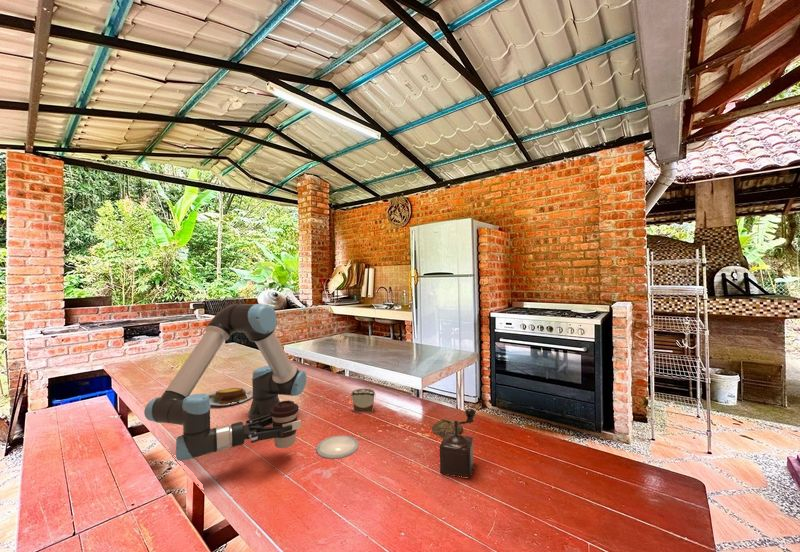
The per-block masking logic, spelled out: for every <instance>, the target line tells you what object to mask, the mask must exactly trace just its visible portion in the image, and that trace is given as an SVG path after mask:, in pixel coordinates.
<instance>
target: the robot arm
mask: <svg viewBox="0 0 800 552" xmlns="http://www.w3.org/2000/svg"><path fill="white" fill-rule="evenodd" d="M277 319H278V316H277V313H276V311H275V309H274V308H273V307H272V306H270V305H268V304H262V303H255V304H253V303H252V304H250V303H249V304H247V303H242V304H241V303H235V304H230V305H228V306H226V307H225V308H223V309H222V310H220V311H219V312H217V314H215V316H213V317H212V319H211V320H210V321H209V323H207V325H206V327H205V328H204V330H205V332H204V334H203V335H202V337H201V339H200V340H199V341H198V343H197V344H196V345H195V347H194V348H193V350H192V352H191V353H190V355H189V356H188V357H187V359H186V360H185V362H184V363H183V364H182V366H181V367H180V368H179V370H178V372H176V375H175V376H174V378H173V379H172V381H170V383H169V384H168V385H167V388H166V389H165V391H164V392H162V395H161V396H159V397H154V398H152V399H150V401H148V403H147V404H146V405H145V407H144V411H143V413H144V417H145V418H146V420H147V421H150V422H154V423H158V424H160V423H162V424H163V423H164V424H171V425H179V426H182V432H183V433H182V434H181V435H178V436H177V437H176V439H175V442H176V443H175V447H176V448H175V456H176V457H175V458H176V460H177V461H179V462H180V461H181V462H182V461H186V460H191V459H195V458H198V457H201V456H204V455H209V454H212V453H217V452H223V451H224V450H228V449H230V448H231V447H232V448H235V447H240V446H243V445H244V444H245V441H246V440H250V443H251V444H254V443H256V442H260V441H266V440H272V439H274V438H278V437H282V436H283V433H285V432H288V431H292V430H296V429H297V430H299V429H302V421H301V419H299V420H298V419H297V421H295V422H291V423H287V424H283V425H282V426H276V427H273V426H271V425H272V416H271V415H270V410H271V408H273V407H274V406H275V404H276V403H278V402H281V401H280V398H279V395H280V396H291V397H293V396H294V397H297V396H300V395H301V394H302V393H303V392H304V390H305V388H306V384H307V379H308V378H307V373H306V371H304V370H302V369H301V370H299V369H298V367H297V366H296V364H295V363H293V362H291V360H290V359H289V358H288V354H287V353H286V351H285V350H284V348H283V346H282V344H281V342H280V339H279V338H278V336H277V334H276V333H275V330H276V327H277V323H278V320H277ZM234 333H243V334H245V336H246V338H247V339H248V341H250V342H251V343H255V345H256V346H257V348H258V350H259V351H260V353H261V355H262V357H263V358H264V360H265V362H266V363H267V365H265V366H260V367H257V368H255V369H254V370H253V372H252V379H251V382H252V384H251V385H252V392H253V394H252V395H253V396H252V402H251V405H250V408H249V411H248V418H249V419H248V420H246V421H245V424H244V423H243V421H239V422H234V423H231V425H230V424H225V425H221V426H217V427H214V428H211V405H210V401H209V396H208V395H207V394H208V393H195V394H192V392H193V391H194V389H195V387H196V386H197V384H198V383H199V381H200V379H201V378H202V376H203V375H204V373H205V372H206V370H207V369H208V367H209V366H210V364H211V363H212V361H213V359H214V357H215V356H216V355H217V353H218V351H219V350H220V348H221V347H222V345H223V344H224V342H225V341H228V340H229V339H230V337H231V336H232V335H233V334H234ZM297 430H296V431H297Z"/></svg>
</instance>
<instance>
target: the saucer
mask: <svg viewBox="0 0 800 552" xmlns="http://www.w3.org/2000/svg"><path fill="white" fill-rule="evenodd" d="M358 448H359V442H358V440H357V439H356V438H354V437H352V436H349V435H334V436H329V437H327V438H324V439H322V440H321V441H320V442H318V444H317V445H316V453H317V455H318V456H320V457H322V458H324V459H331V460H335V459H342V458H346V457H348V456H351V455H353V454H354V453H355V452H356V451H357V450H358Z"/></svg>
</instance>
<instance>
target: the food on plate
mask: <svg viewBox="0 0 800 552" xmlns="http://www.w3.org/2000/svg"><path fill="white" fill-rule="evenodd" d="M206 394H207V395H208V396H209V401H210V406H230V404H228V403H231V406H232V405H235V404H236V403H232V402H239V403H243V402H245V401H248V400H249V399H251V398H253V390H252V389H250V388H246V387H241V386H240V387H239V386H237V387H235V386H233V387H226V388H222V389H217V390H213V391H211V392H210V393H206ZM246 394H247V395H248V397H247V395H246ZM239 403H238V404H239ZM223 404H224V405H223Z"/></svg>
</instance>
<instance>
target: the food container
mask: <svg viewBox="0 0 800 552" xmlns="http://www.w3.org/2000/svg"><path fill="white" fill-rule="evenodd" d="M375 396H376V392H375V390H374V389H371V388H365V387H364V388H363V387H362V388H357V389H355V390H353V391H351V395H350V397H351V399H352V406H353V413H374V404H375V403H374V401H375Z"/></svg>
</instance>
